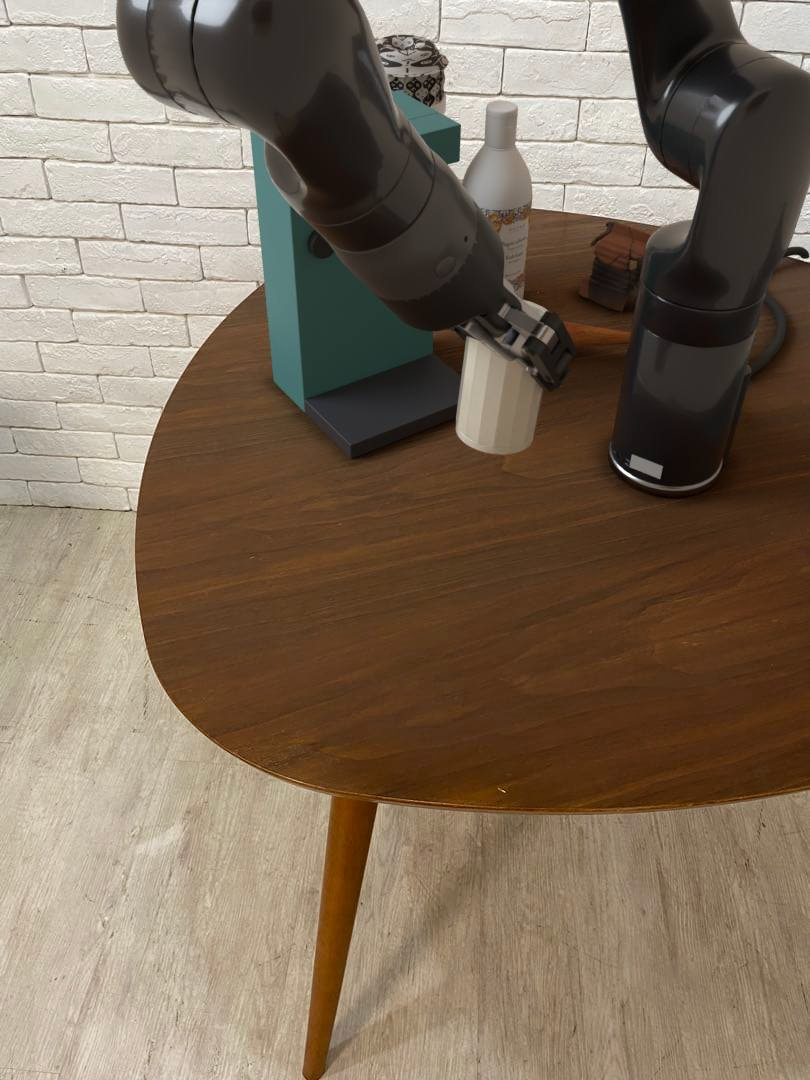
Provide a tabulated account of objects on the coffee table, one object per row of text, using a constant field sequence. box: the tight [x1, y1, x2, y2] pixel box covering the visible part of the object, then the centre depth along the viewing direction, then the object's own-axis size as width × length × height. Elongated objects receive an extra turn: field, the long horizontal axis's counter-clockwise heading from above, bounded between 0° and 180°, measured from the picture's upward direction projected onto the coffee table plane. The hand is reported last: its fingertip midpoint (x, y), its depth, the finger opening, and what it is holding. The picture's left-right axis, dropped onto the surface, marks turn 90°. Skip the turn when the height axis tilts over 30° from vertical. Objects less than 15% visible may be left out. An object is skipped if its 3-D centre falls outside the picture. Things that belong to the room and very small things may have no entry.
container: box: [455, 299, 549, 456], centre depth 71 cm, size 6×6×9 cm
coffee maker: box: [249, 90, 462, 459], centre depth 89 cm, size 14×14×24 cm
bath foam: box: [461, 100, 533, 300], centre depth 103 cm, size 7×7×20 cm
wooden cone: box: [563, 321, 631, 348], centre depth 100 cm, size 6×6×20 cm
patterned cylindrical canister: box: [375, 34, 450, 115], centre depth 102 cm, size 9×9×25 cm
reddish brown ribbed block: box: [578, 221, 653, 313], centre depth 109 cm, size 12×10×8 cm
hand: (520, 359), depth 72 cm, fingers closed on container, 5 cm apart
